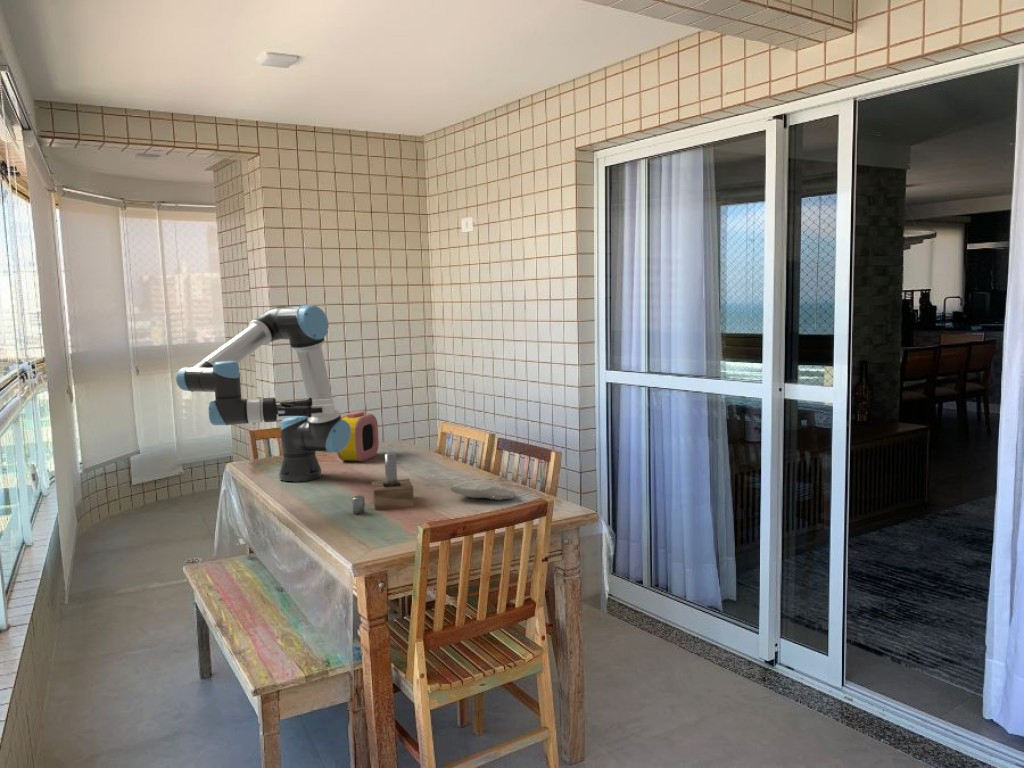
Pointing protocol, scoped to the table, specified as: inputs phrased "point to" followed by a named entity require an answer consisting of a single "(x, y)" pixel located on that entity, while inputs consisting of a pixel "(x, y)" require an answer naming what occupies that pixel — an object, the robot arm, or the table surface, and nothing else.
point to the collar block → (392, 495)
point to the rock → (483, 490)
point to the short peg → (358, 505)
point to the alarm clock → (360, 437)
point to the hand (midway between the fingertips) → (333, 405)
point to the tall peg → (391, 470)
